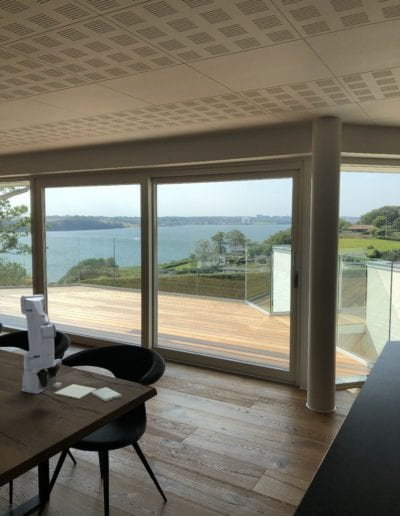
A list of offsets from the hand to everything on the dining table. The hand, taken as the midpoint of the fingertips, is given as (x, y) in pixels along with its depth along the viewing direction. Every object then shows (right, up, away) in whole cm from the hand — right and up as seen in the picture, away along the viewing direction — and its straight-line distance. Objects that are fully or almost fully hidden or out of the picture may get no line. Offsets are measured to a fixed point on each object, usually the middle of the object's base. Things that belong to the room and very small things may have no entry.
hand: (47, 384), depth 181 cm
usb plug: (+1, -2, 0) cm, 2 cm away
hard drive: (+22, -9, +11) cm, 26 cm away
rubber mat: (+8, -8, +15) cm, 18 cm away
